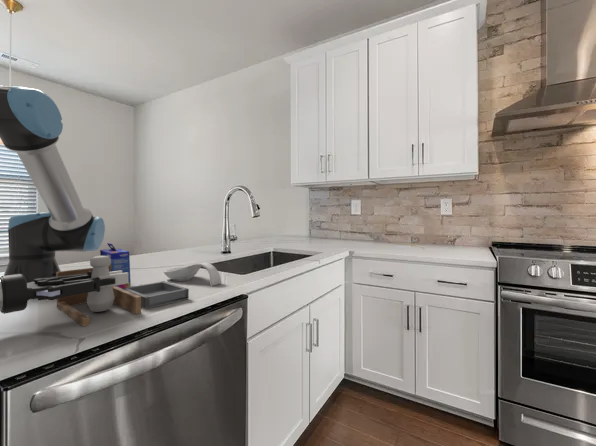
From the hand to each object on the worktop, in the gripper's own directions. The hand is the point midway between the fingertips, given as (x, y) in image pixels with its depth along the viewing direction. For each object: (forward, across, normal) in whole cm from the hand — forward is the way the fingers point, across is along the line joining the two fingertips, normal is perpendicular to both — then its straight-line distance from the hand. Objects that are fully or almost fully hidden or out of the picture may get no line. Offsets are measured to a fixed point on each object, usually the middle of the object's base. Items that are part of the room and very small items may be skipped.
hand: (124, 276), depth 80 cm
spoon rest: (+28, -14, -8) cm, 32 cm away
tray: (+9, -1, -8) cm, 12 cm away
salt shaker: (-5, 0, -7) cm, 9 cm away
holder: (-5, -2, -8) cm, 10 cm away
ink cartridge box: (+6, -21, -8) cm, 23 cm away
